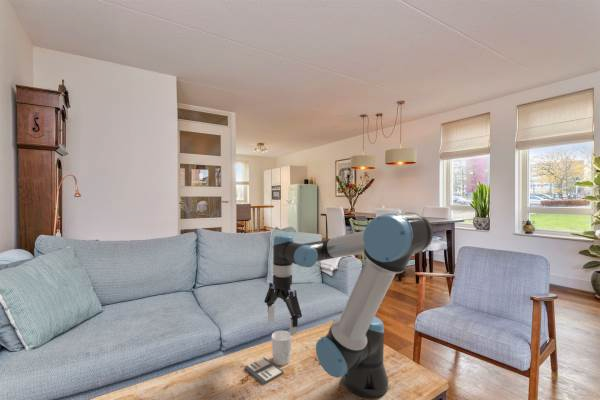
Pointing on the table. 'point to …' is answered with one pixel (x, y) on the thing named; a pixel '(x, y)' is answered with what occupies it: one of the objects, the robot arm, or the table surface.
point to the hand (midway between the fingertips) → (281, 327)
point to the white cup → (281, 347)
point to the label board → (263, 370)
